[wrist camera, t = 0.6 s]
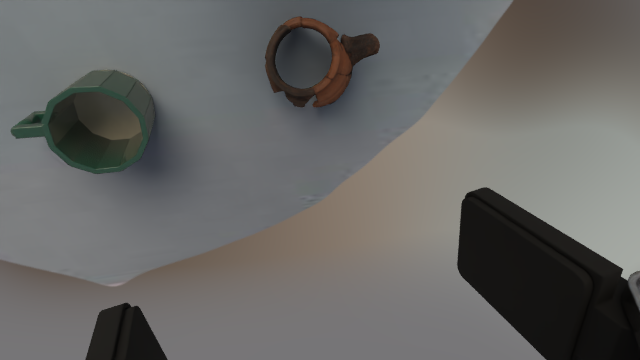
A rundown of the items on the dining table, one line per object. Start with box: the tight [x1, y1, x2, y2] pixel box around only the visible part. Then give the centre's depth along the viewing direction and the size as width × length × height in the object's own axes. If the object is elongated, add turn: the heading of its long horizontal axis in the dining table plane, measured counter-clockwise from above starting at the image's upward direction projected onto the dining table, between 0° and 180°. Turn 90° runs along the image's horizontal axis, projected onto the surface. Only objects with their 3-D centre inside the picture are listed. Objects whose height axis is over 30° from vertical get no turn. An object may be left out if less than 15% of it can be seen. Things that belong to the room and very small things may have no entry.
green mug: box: [11, 70, 155, 174], centre depth 32 cm, size 10×7×8 cm
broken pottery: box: [265, 17, 380, 107], centre depth 38 cm, size 12×10×8 cm
